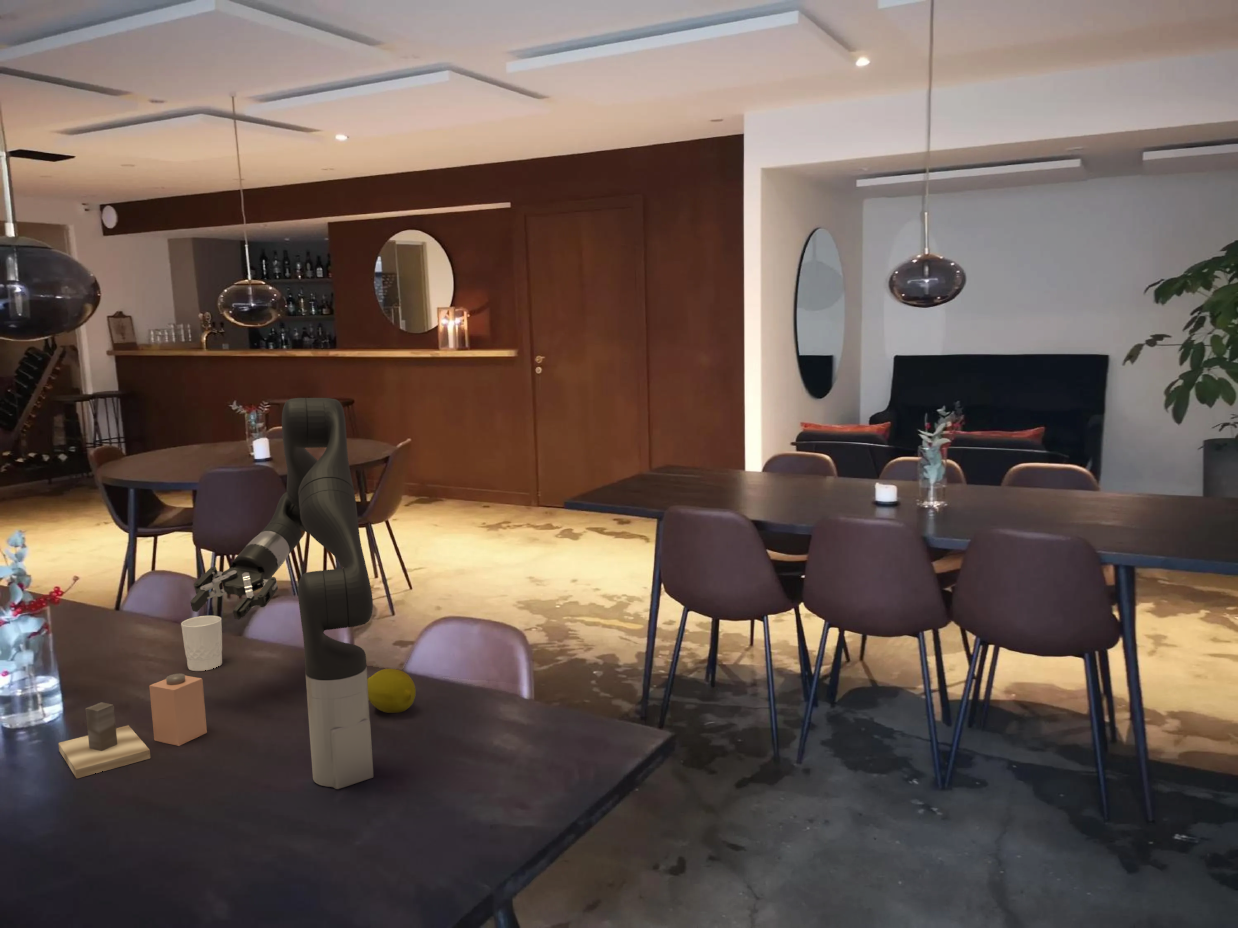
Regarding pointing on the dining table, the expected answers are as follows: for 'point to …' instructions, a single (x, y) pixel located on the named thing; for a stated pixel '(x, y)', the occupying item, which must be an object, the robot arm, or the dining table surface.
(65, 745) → the shaft board
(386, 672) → the lemon
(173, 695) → the square capped bottle
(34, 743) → the dining table surface
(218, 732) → the dining table surface
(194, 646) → the white cup
